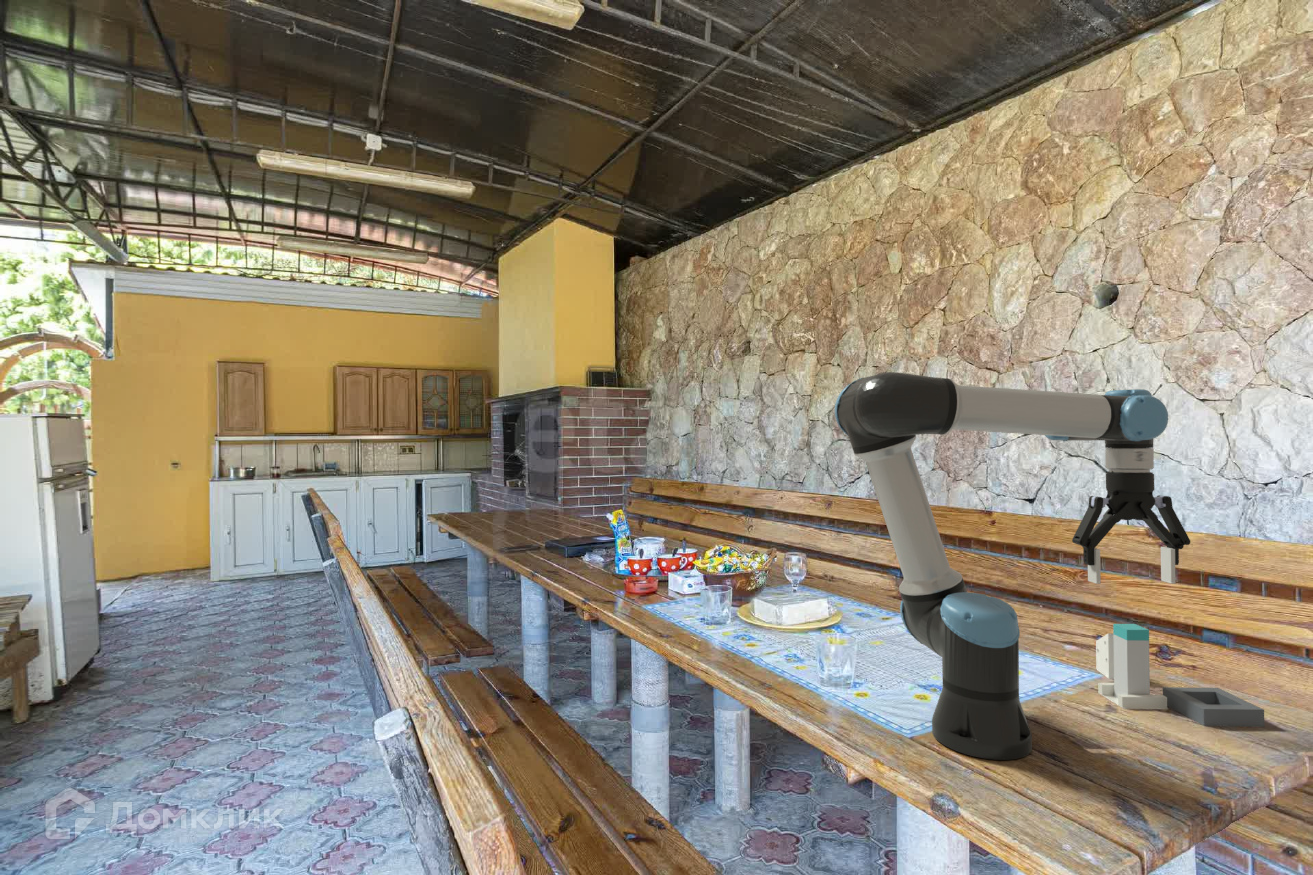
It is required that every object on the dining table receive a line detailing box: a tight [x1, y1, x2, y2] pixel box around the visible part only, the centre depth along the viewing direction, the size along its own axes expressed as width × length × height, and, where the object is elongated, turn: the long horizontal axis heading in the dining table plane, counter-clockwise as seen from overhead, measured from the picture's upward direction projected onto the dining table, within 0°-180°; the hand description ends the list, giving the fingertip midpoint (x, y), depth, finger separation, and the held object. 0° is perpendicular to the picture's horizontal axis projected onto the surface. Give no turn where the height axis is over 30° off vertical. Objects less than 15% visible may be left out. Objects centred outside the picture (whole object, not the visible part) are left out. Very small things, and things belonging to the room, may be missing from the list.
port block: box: [1162, 686, 1265, 728], centre depth 119 cm, size 10×10×4 cm
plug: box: [1112, 623, 1151, 698], centre depth 126 cm, size 4×4×14 cm
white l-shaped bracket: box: [1095, 632, 1114, 680], centre depth 139 cm, size 4×10×9 cm
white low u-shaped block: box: [1096, 682, 1169, 710], centre depth 126 cm, size 8×8×3 cm
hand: (1131, 582), depth 126 cm, fingers open, 13 cm apart
